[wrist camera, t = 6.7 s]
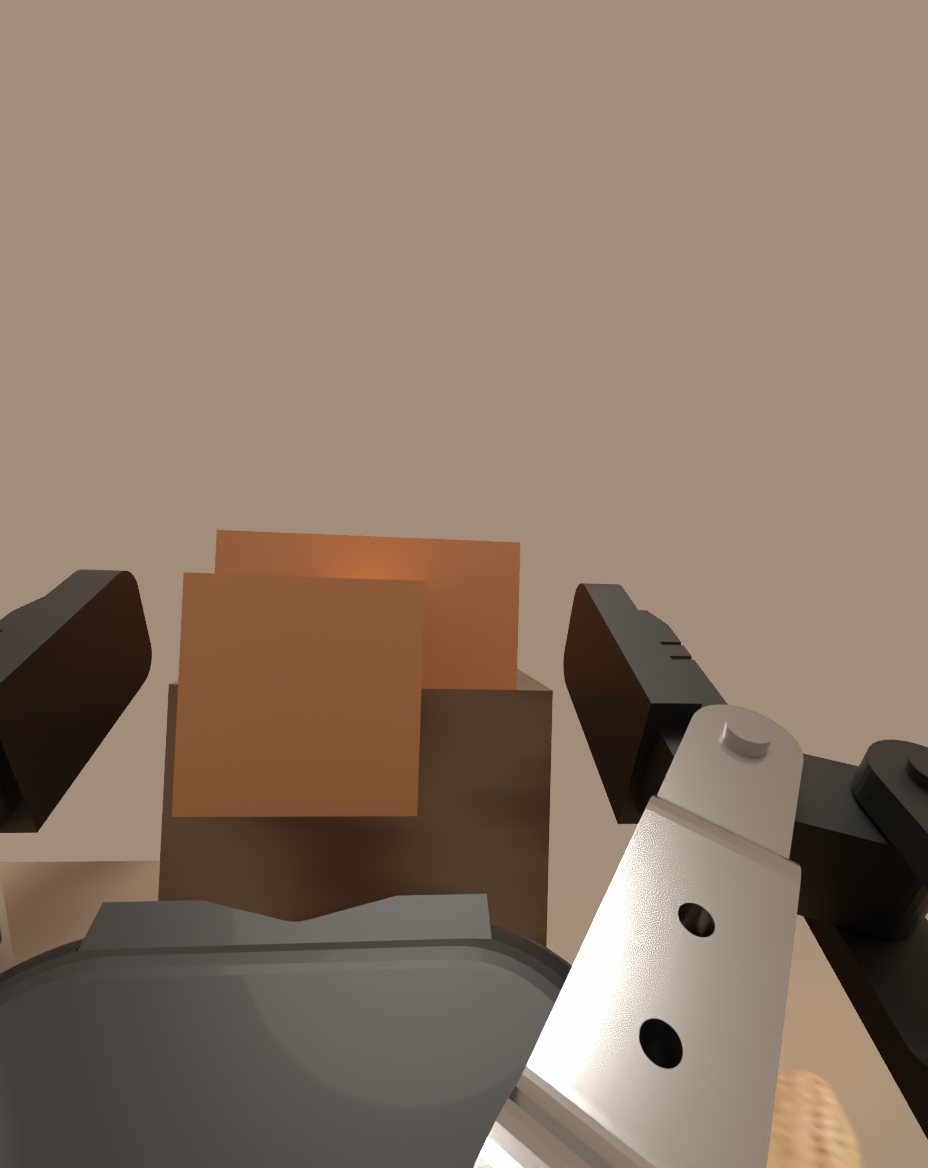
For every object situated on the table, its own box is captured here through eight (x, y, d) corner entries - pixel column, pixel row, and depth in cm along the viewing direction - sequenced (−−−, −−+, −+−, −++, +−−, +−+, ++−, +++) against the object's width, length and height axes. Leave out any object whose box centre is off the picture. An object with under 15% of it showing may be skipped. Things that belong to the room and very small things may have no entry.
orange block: (-122, 818, 5) (-95, 413, 6) (281, 655, 22) (285, 556, 23) (666, 815, 6) (672, 456, 6) (480, 660, 23) (483, 563, 23)
